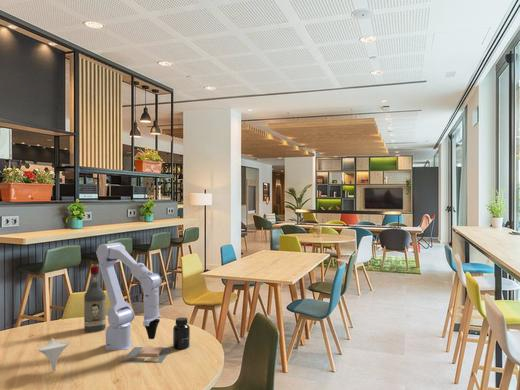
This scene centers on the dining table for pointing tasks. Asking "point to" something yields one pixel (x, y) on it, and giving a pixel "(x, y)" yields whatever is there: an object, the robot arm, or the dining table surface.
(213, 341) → the dining table surface
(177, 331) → the supplement bottle
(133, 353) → the mat
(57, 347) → the white spinning top
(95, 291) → the liquor
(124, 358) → the turner
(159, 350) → the tile
